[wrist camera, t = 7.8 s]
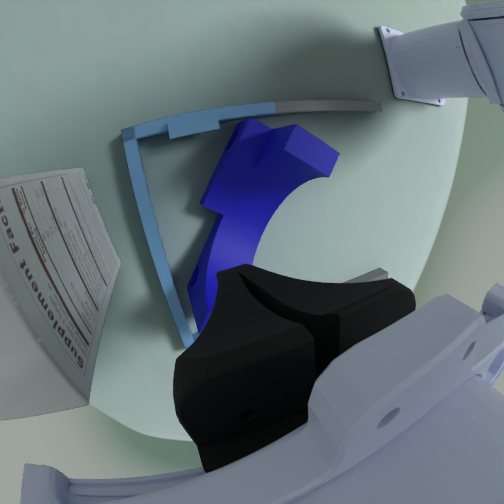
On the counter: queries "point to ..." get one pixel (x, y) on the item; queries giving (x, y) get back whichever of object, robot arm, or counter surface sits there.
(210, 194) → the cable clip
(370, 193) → the counter surface
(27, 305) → the supplement box
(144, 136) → the blue grey open frame
